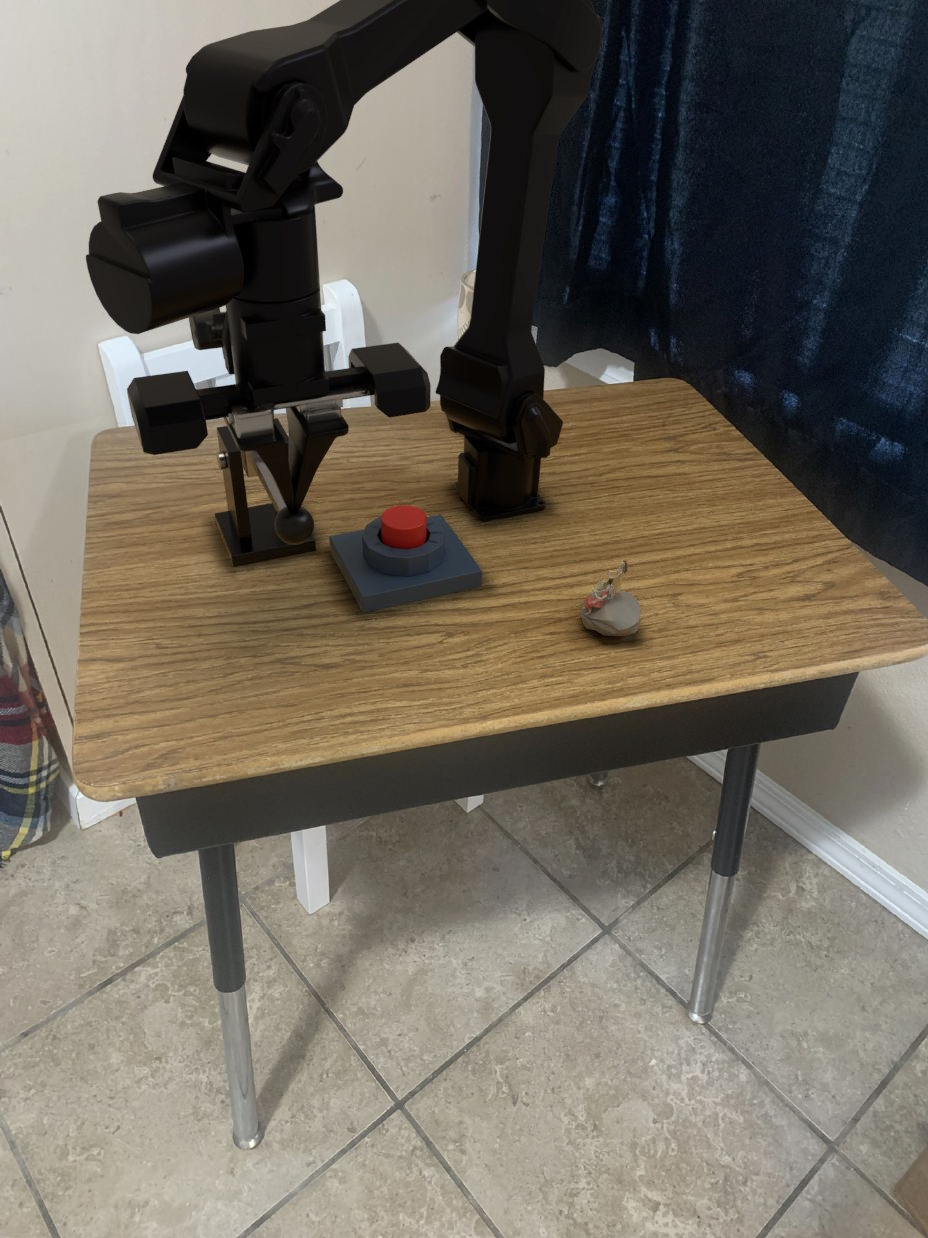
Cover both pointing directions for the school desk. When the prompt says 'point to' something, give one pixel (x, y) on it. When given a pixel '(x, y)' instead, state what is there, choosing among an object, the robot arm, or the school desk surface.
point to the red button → (403, 527)
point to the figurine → (611, 607)
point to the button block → (403, 566)
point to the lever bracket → (249, 513)
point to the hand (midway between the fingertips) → (292, 507)
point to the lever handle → (279, 503)
